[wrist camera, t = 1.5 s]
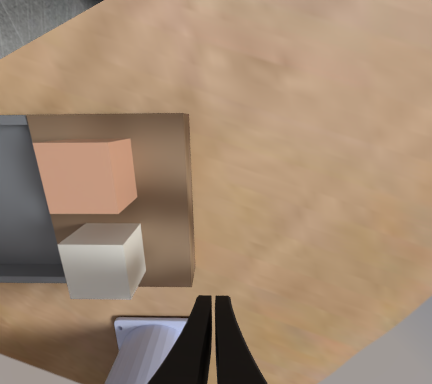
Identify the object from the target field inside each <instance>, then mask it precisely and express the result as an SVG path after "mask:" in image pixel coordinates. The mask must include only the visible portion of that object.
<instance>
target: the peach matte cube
mask: <svg viewBox="0 0 432 384" xmlns="http://www.w3.org/2000/svg"><path fill="white" fill-rule="evenodd" d="M33 147H34V151H35V155H36V159H37V163H38V167H39V171H40V176H41V180H42V184H43V188H44V192H45V196H46V200H47V204H48V208H49V212H50V214H119V213H120V212H121V211H122V210H124V209H125V208H126V207H127V206H128V205H129V204H130V203H131V202H133V201H134V200H135V199H136V198H137V190H136V182H135V173H134V165H133V156H132V148H131V139H130V138H119V139H64V140H55V141H46V142H37V143H33Z"/></svg>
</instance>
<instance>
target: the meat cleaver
mask: <svg viewBox="0 0 432 384" xmlns="http://www.w3.org/2000/svg"><path fill="white" fill-rule="evenodd" d="M101 1H103V0H0V59H1V58H3V57H5V56H6V55H8V54H10V53H12V52H14V51H15V50H17V49H19V48H21V47H22V46H24V45H26V44H28V43H29V42H31V41H33V40H35V39H36V38H38V37H40V36H42V35H43V34H45V33H47V32H49V31H50V30H52V29H54V28H56V27H57V26H59V25H61V24H63V23H65V22H66V21H68V20H70V19H72V18H73V17H75V16H77V15H79V14H80V13H82V12H84V11H86V10H87V9H89V8H91V7H93V6H94V5H96V4H98V3H100V2H101Z"/></svg>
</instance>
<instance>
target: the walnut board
mask: <svg viewBox="0 0 432 384" xmlns="http://www.w3.org/2000/svg"><path fill="white" fill-rule="evenodd" d="M26 117H27V121H28V125H29V129H30V133H31V138H32V142H33V143H37V142H46V141H55V140H64V139H119V138H130V139H131V148H132V156H133V165H134V173H135V182H136V190H137V198H136V199H135V200H134V201H133V202H131V203H130V204H129V205H128V206H127V207H126V208H125V209H124V210H122V211H121V212H120V213H119V214H50V215H51V219H52V223H53V228H54V232H55V236H56V240H57V244H59V243H60V242H62V241H63V240H64V239H66V238H67V237H68V236H70V235H71V234H72V233H74V232H75V231H76V230H78V229H79V228H80V227H82V226H83V225H84V224H86V223H140V224H141V232H142V241H143V249H144V258H145V266H146V272H145V273H144V275H143V277H142V279H141V281H140V283H139V285H138V287H192V283H193V278H194V272H195V248H194V224H193V201H192V177H191V154H190V130H189V114H184V113H157V114H64V115H26Z"/></svg>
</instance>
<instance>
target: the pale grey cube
mask: <svg viewBox="0 0 432 384" xmlns="http://www.w3.org/2000/svg"><path fill="white" fill-rule="evenodd" d="M58 249H59V253H60V257H61V261H62V265H63V270H64V274H65V278H66V282H67V286H68V290H69V294H70V298H71V299H127V300H131V299H132V297H133V295H134V293H135V291H136V289H137V287H138V285H139V283H140V281H141V279H142V277H143V275H144V273H145V272H146V266H145V258H144V249H143V241H142V232H141V224H140V223H86V224H84V225H83V226H82V227H80V228H79V229H78V230H76V231H75V232H74V233H72V234H71V235H70V236H68V237H67V238H66V239H64V240H63V241H62V242H60V243H59V244H58Z"/></svg>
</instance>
